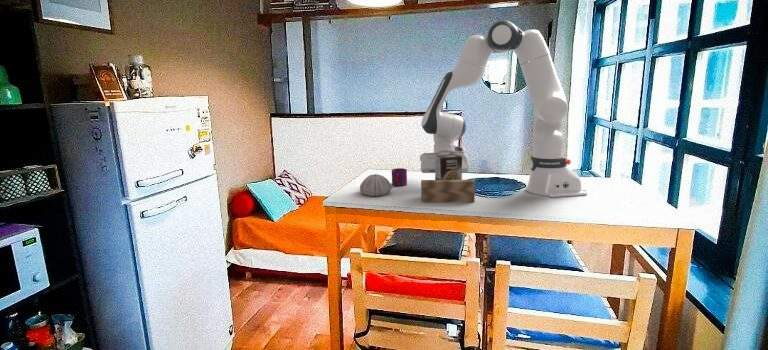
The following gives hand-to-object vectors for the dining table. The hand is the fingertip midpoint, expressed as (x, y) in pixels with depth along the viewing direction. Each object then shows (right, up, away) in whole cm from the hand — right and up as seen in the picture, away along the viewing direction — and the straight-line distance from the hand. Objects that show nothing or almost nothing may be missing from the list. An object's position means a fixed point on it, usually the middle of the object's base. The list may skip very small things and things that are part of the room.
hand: (445, 180), depth 164 cm
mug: (-19, -3, +14) cm, 23 cm away
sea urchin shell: (-29, -6, +3) cm, 30 cm away
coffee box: (+1, -6, -3) cm, 7 cm away
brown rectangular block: (-1, -8, -11) cm, 13 cm away
